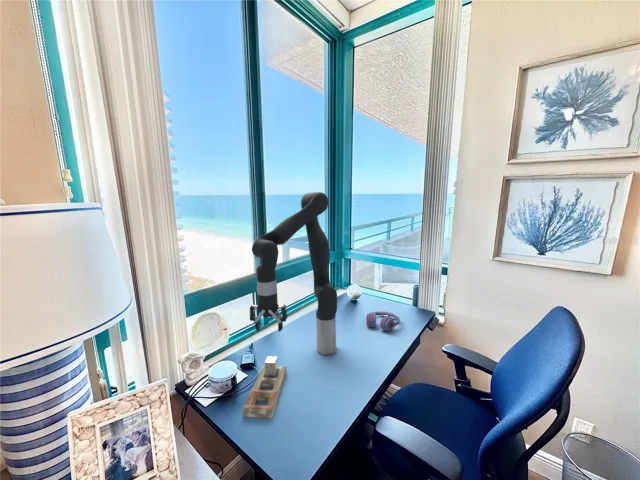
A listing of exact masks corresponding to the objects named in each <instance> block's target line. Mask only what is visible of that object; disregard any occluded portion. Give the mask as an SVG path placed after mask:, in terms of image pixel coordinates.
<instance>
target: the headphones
mask: <svg viewBox="0 0 640 480" xmlns="http://www.w3.org/2000/svg"><path fill="white" fill-rule="evenodd" d="M376 315H388V316H384V317H382V318H381V319H380V322H379V326H380V329H381V330H382V331H384V330H385V331H384V332H392V331H393V330H394V328H395V327H396V326H399V325H400V322H401V319H400V317H399V316H398V315H396V314H394V313H392V312H388V311H373V312H369V313H367V314H366V321H365V322H366V326H369V327H370V328H373V329H374V328H376V325H377V324H376V323H377V316H376ZM390 316H391V317H394V318H396V319H397V320H398V321H397V320H396V321H395V319H392V318H391V317H390Z"/></svg>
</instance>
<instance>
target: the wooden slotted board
mask: <svg viewBox="0 0 640 480" xmlns="http://www.w3.org/2000/svg"><path fill="white" fill-rule="evenodd" d="M286 375H287V366H286V365H278V376H277V378H267V377H266V375H265V364H263V365H262V366H261V368H260V371H259V372H258V375H257V378H256V380H255V382H254V384H253V386H252V388H251V390H250V392H249V394H248V396H247V398H246V401H245V402H244V405H243V407H242V417H244V418H257V419H258V418H259V419H260V418H262V419H273V416H274V414H275V411H276V407H277V404H278V401H279V398H280V395H281V391H282V388H283V385H284V382H285V378H286ZM267 387H268V388H272V390H271V389H269V390H266V389H263V388H267ZM257 401H262V402H267V403H266V405H265V404H263V405H260V404H256V403H257Z"/></svg>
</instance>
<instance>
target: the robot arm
mask: <svg viewBox="0 0 640 480" xmlns="http://www.w3.org/2000/svg"><path fill="white" fill-rule="evenodd" d="M300 207H301V210H299V211H297V212H295V213H294V214H292V215H290V216H288V217H286V218H285V219H284V220H282V221H281V222H280V223H279V224H278V225H276V227H274V228H273V229H272V230H271V231H268V232H267V233H265V234H263V235H262V236H260V237H259V238H257V239H256V240H254V242H253V244H252V246H251V253H252V255H254V256H255V257H256V258H259V259H261V264H259V265H258V266H257V268H256V296H257V305H256V304H254V303H252V304H251V305H250V307H249V321H251V322H254V325H255V330H256V331H257V332H260V330H261V320H260V319H261V318H262V317H263V318H273V319H274V320H276V321H277V328H278V329H277V331H278V332H281V331H283V328H284V324H283V323H284V322H287V319H288V312H287V306H286V304H283V305H279V303H278V285H277V277H276V276H277V275H276V274H277V273H276V268H277V264H278V259H279V249H278V246H279V245H280V246H281V245H284V244H286V243H287V242H288V241H289V240H290V239H292V237H293V236H294V235H295V234H296V233H297V232H298V231H300V230H301V229H302V228H303V227H305V230H306V235H307V236H306V237H307V244H308V251H309V258H310V264H311V268H312V273H313V293H314V296H315V298H316V300H317V309H316V312H315V316H316V317H315V321H316V322H315V323H316V325H315V327H316V328H315V329H316V352H318V353H319V354H320V355H323V356H324V355H325V356H329V355H333V354H336V353H337V326H336V325H337V321H336V320H337V319H336V316H337V315H336V314H337V311H338V293H337V290H336V288H335V287H334V286H333V285H332V284H331V280H330V275H329V265H330V260H331V259H330V257H331V253H330V243H329V240H328V238H327V236H326V234H325V232H324V231H323V229H322V227H321V225H320V221H319V218H318V216H320V215H322V214H323V213H325V212H326V210H327V209H328V207H329V198H328V196H327V194H326V193H324V192H321V191H315V192H307V193H305V194H303V196H302V197H301V200H300ZM256 310H257V311H258V312H259V314H257V316H256ZM279 310H280V312H281V314H280V312H279ZM281 315H282V316H281Z"/></svg>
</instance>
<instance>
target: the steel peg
mask: <svg viewBox="0 0 640 480" xmlns="http://www.w3.org/2000/svg"><path fill="white" fill-rule="evenodd" d="M264 365H265V375H266V377H267V378H277V376H278V366H279V365H278V356H271V355H270V356H269V355H267V357H266V359H265V361H264Z"/></svg>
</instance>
